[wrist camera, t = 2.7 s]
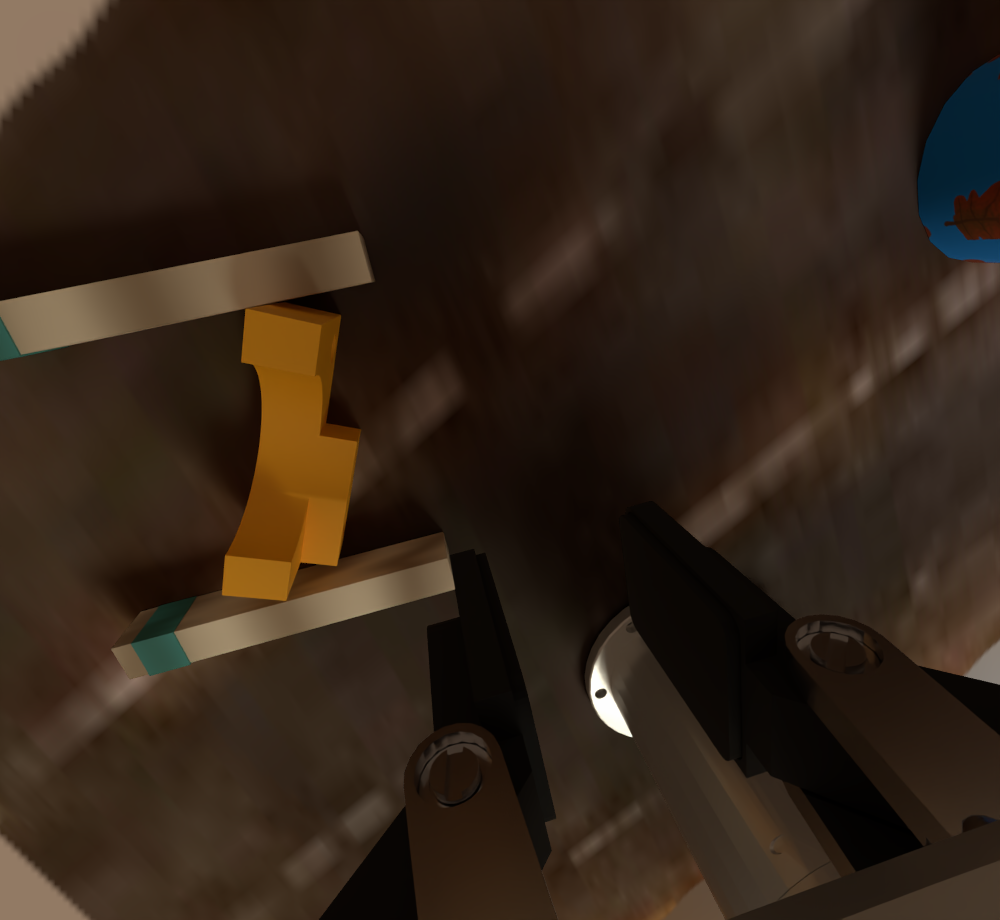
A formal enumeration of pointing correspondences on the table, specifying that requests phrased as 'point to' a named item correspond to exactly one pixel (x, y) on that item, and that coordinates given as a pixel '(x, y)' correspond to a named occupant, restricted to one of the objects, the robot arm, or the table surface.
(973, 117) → the thermos
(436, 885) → the robot arm
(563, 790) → the table surface
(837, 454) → the table surface
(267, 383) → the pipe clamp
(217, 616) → the channel
